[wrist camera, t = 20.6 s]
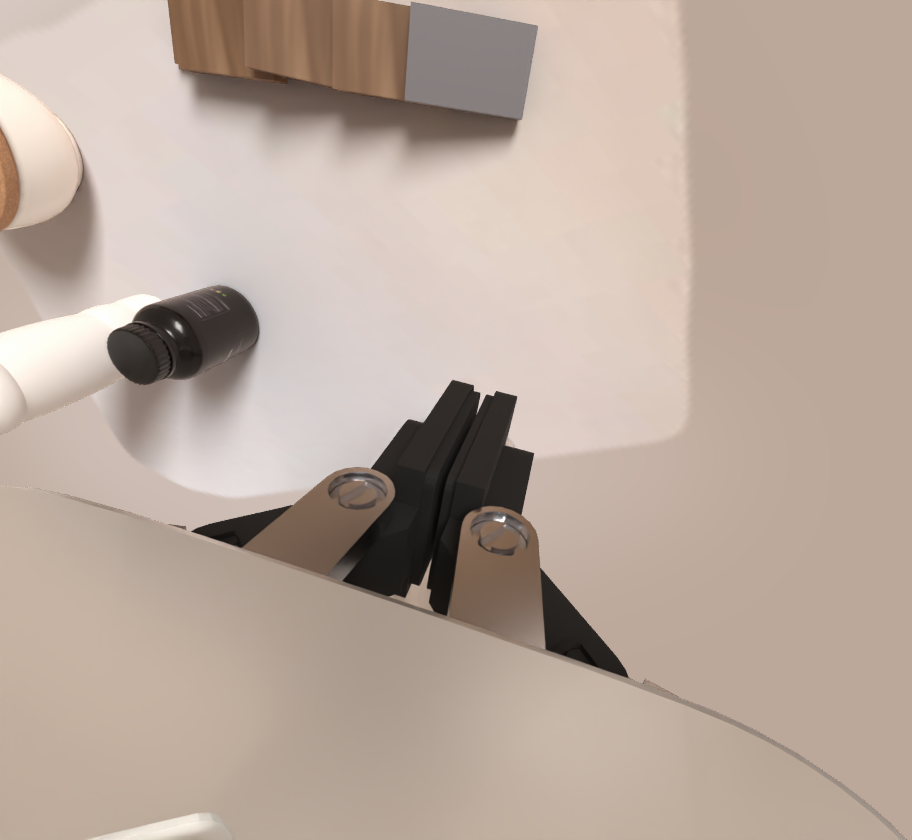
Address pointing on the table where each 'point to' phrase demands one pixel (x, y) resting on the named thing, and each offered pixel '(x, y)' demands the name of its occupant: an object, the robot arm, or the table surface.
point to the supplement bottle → (183, 335)
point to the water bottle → (60, 360)
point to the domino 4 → (468, 61)
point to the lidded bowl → (34, 160)
